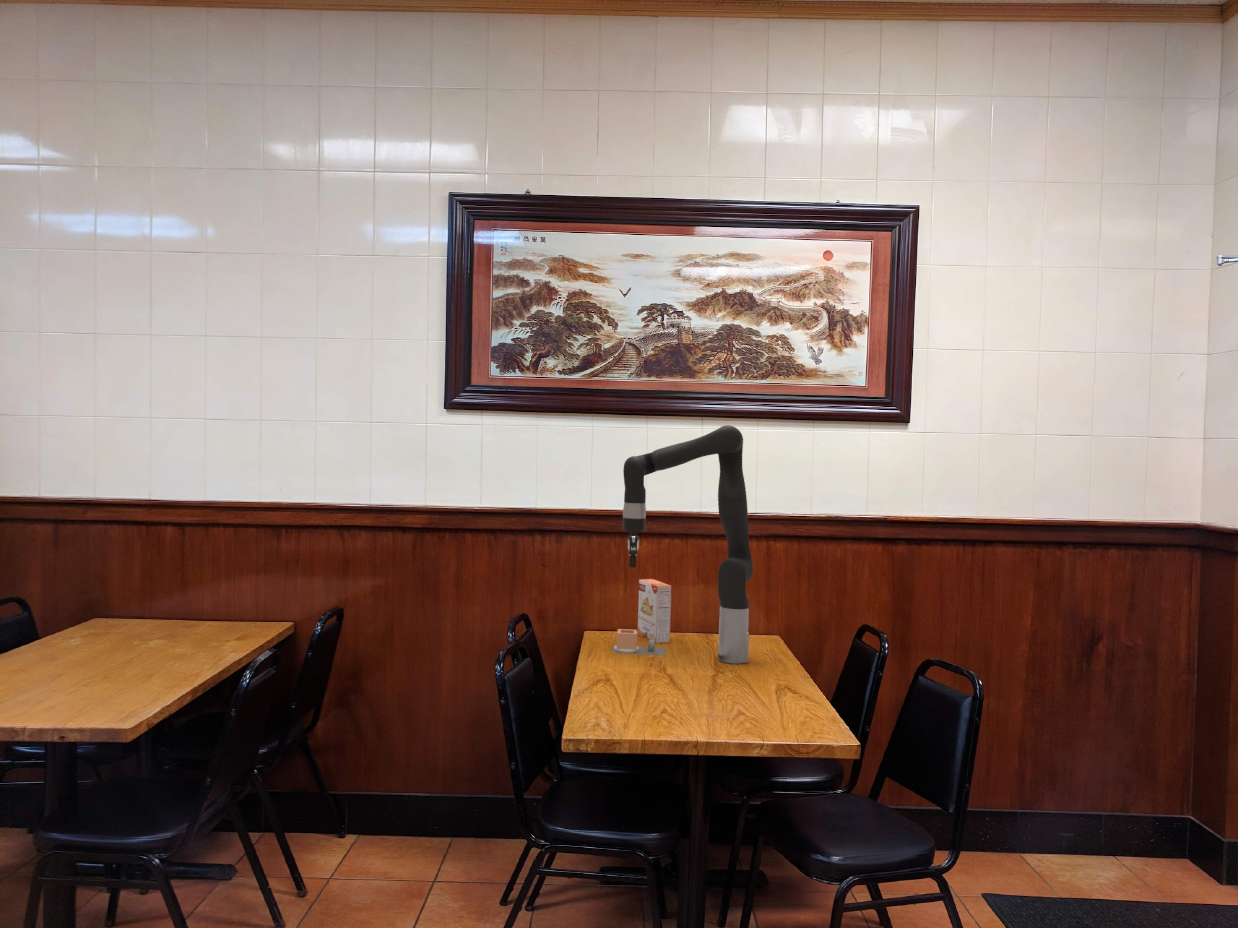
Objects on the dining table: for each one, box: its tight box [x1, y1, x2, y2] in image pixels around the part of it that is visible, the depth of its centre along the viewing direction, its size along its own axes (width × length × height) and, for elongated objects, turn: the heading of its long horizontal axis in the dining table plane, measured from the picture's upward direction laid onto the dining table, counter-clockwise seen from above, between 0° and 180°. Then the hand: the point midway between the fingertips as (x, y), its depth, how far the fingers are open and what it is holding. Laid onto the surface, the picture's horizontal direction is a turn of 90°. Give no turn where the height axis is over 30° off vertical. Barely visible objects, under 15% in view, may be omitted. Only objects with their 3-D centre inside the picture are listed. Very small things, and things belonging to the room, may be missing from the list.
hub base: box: [612, 639, 667, 656], centre depth 264 cm, size 17×9×6 cm, turn 89°
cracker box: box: [637, 578, 672, 644], centre depth 282 cm, size 14×6×21 cm, turn 25°
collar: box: [616, 628, 638, 650], centre depth 264 cm, size 6×6×5 cm
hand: (632, 565), depth 269 cm, fingers open, 8 cm apart
